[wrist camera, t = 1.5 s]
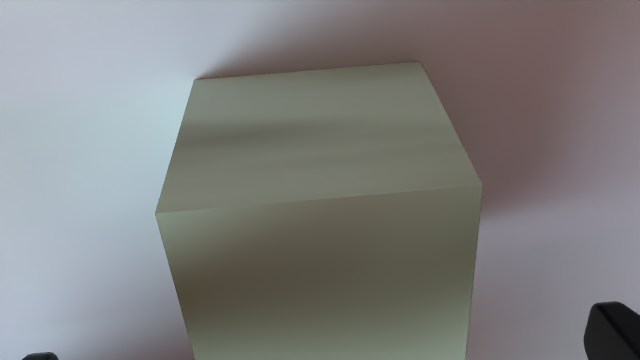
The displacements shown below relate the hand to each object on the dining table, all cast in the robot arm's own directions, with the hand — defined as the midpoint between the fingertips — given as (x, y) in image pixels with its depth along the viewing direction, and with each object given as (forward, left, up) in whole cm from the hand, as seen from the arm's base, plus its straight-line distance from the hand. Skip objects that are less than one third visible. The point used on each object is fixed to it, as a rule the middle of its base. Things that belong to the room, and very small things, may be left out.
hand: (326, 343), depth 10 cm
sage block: (0, 0, -6) cm, 6 cm away
